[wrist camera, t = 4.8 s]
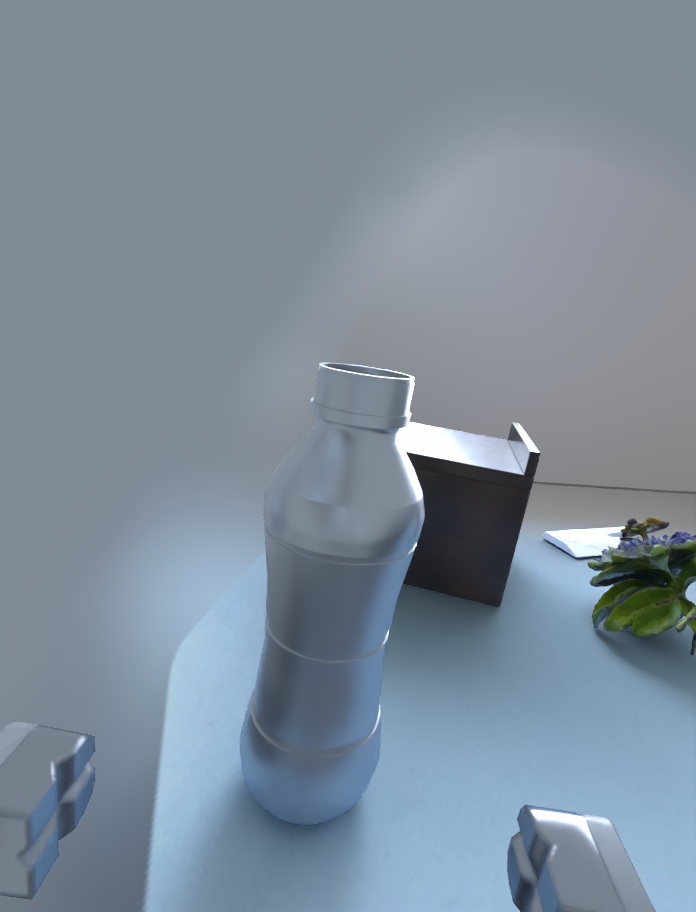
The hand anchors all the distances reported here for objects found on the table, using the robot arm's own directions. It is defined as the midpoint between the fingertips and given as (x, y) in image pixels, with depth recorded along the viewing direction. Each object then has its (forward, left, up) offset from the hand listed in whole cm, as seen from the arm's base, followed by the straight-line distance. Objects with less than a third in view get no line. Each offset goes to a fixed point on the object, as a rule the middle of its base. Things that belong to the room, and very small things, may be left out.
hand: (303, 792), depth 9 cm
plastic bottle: (-2, +11, -13) cm, 17 cm away
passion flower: (+22, +35, -13) cm, 43 cm away
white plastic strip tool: (+23, +53, -13) cm, 59 cm away
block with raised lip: (+2, +39, -13) cm, 41 cm away
